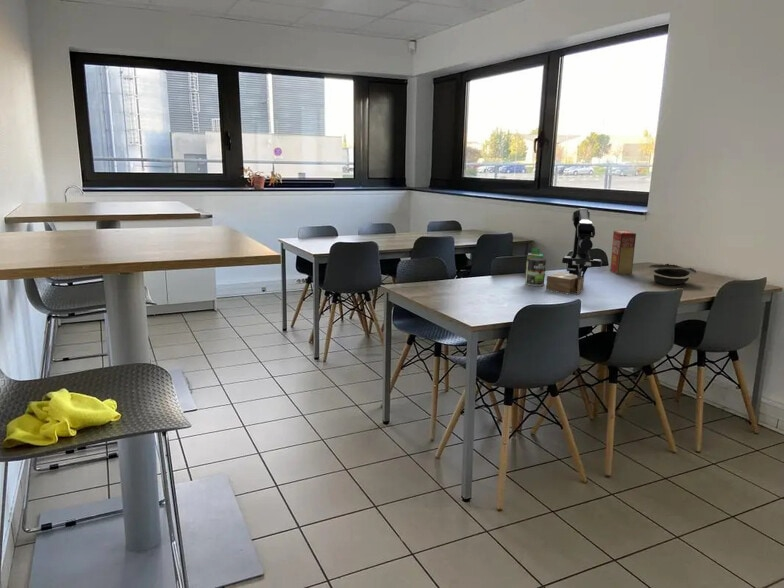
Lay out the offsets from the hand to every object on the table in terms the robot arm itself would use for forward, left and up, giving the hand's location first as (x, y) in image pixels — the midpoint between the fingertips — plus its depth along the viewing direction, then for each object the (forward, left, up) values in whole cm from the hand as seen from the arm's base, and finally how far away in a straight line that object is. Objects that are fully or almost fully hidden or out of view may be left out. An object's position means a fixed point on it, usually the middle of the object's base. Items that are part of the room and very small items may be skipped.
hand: (580, 278), depth 291 cm
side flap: (-4, -1, -8) cm, 9 cm away
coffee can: (-5, -28, -9) cm, 30 cm away
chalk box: (-32, -44, -9) cm, 55 cm away
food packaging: (-73, -8, -9) cm, 74 cm away
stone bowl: (-64, +24, -9) cm, 69 cm away
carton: (-4, -10, -9) cm, 14 cm away
